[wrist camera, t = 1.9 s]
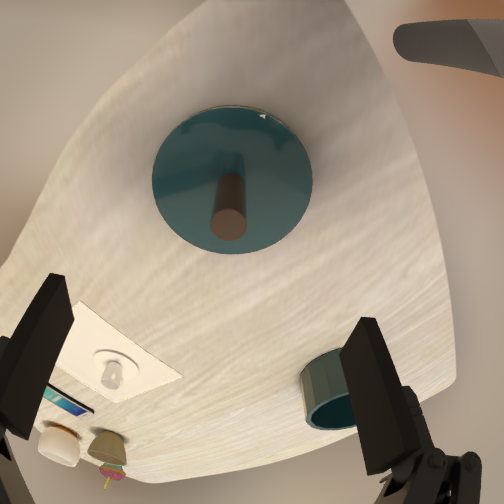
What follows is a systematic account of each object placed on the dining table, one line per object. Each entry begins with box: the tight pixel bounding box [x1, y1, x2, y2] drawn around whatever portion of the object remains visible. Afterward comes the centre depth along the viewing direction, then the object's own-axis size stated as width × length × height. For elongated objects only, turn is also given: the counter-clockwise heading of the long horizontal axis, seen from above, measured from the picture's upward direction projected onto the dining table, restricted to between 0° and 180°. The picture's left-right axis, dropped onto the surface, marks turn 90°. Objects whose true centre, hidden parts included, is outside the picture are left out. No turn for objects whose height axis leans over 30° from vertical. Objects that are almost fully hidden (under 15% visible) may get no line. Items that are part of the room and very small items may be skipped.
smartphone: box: [43, 384, 94, 419], centre depth 53 cm, size 8×1×15 cm
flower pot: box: [87, 431, 126, 466], centre depth 60 cm, size 10×10×7 cm
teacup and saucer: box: [91, 350, 140, 391], centre depth 43 cm, size 9×8×4 cm
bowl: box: [301, 348, 357, 430], centre depth 44 cm, size 14×14×8 cm
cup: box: [38, 426, 80, 467], centre depth 62 cm, size 12×12×10 cm
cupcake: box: [99, 463, 126, 490], centre depth 72 cm, size 9×8×12 cm
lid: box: [152, 106, 312, 254], centre depth 26 cm, size 15×15×8 cm
